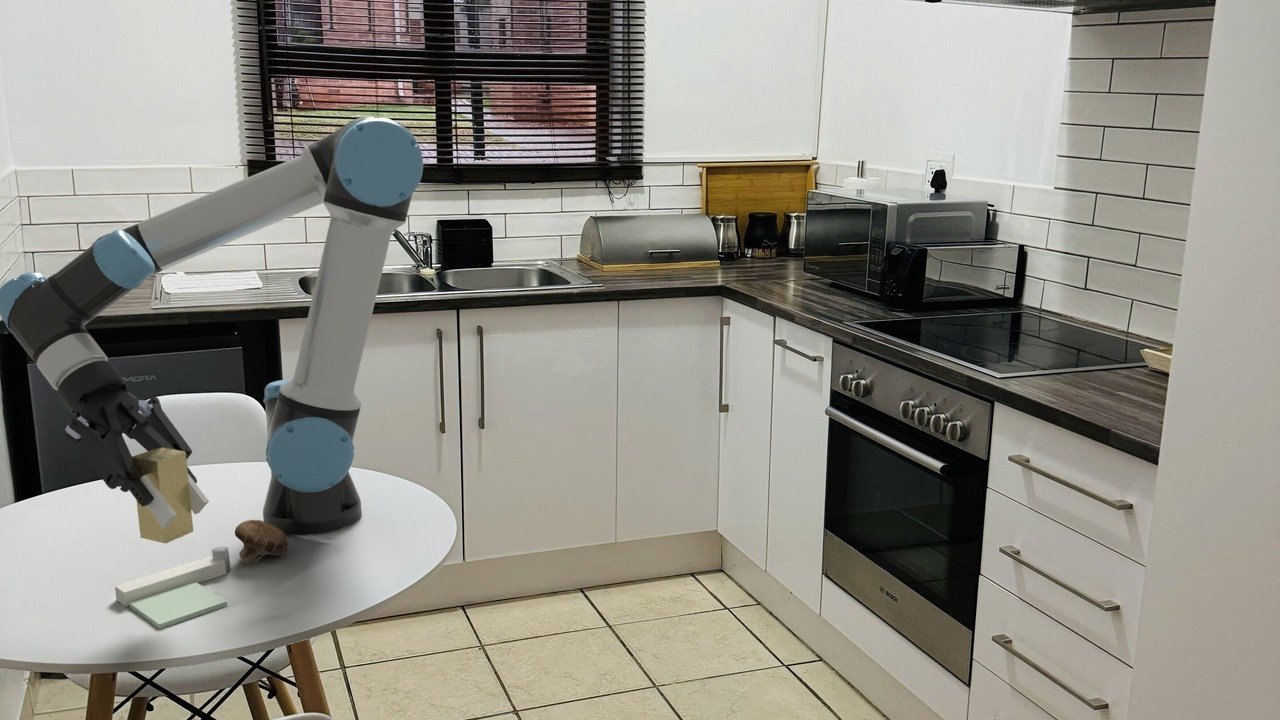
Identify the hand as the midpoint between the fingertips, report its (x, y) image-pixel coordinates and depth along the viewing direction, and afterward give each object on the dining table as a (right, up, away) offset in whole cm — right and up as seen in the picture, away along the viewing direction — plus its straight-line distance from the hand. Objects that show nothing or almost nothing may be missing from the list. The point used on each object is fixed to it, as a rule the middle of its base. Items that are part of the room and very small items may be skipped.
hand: (185, 514), depth 140 cm
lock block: (-3, -3, +2) cm, 5 cm away
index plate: (-3, -13, +5) cm, 14 cm away
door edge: (-6, -12, +11) cm, 17 cm away
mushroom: (+3, -10, +20) cm, 23 cm away
